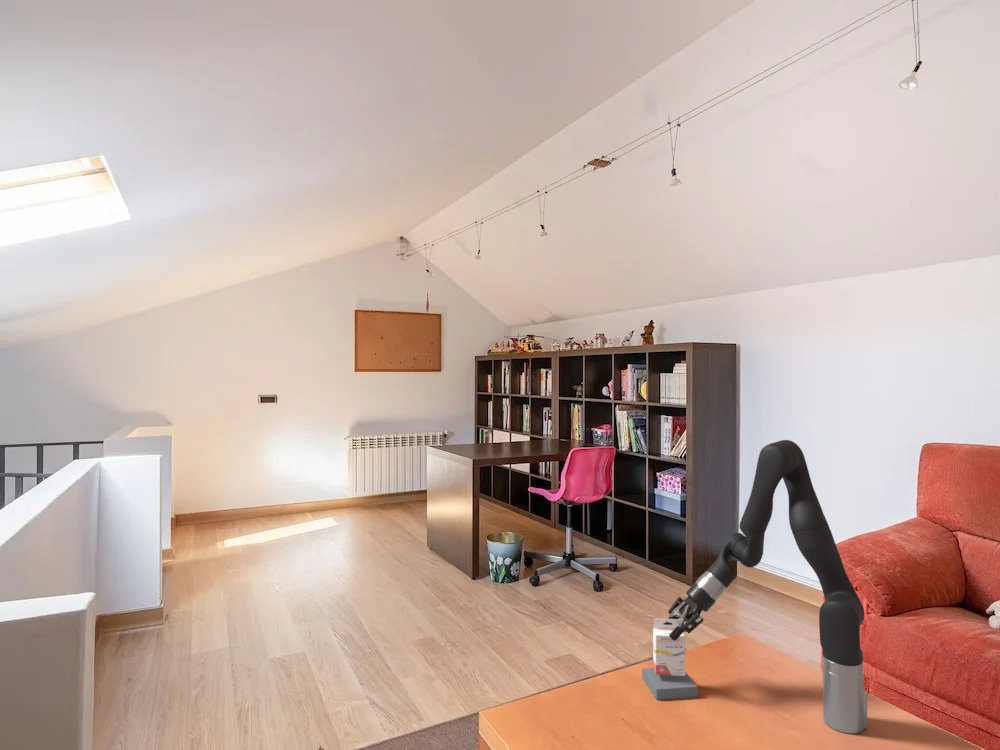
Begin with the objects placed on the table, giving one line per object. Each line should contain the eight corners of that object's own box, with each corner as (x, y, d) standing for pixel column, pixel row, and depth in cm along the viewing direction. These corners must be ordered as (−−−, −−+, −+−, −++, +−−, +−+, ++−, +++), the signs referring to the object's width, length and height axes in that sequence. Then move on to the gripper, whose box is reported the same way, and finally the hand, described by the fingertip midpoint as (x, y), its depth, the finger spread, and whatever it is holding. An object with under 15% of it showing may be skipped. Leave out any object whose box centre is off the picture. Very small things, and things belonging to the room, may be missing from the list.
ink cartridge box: (655, 675, 174) (654, 624, 174) (653, 667, 179) (652, 617, 179) (686, 676, 173) (685, 625, 173) (682, 668, 178) (681, 618, 178)
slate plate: (680, 675, 182) (680, 666, 182) (697, 697, 170) (697, 686, 170) (642, 678, 181) (642, 668, 181) (656, 700, 169) (656, 689, 169)
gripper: (687, 574, 184) (650, 615, 183) (708, 591, 169) (668, 636, 168) (704, 590, 184) (667, 631, 183) (726, 609, 170) (686, 653, 169)
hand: (667, 633), depth 176 cm, fingers closed on ink cartridge box, 5 cm apart
